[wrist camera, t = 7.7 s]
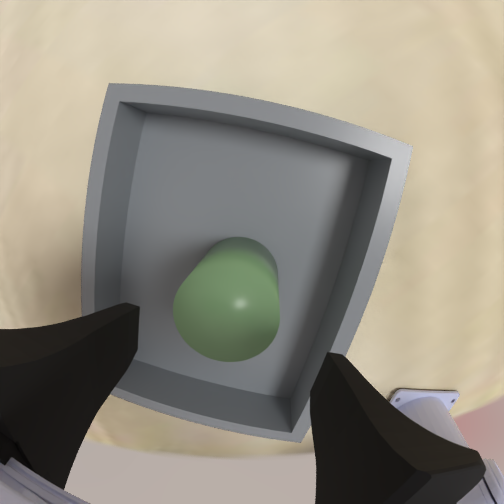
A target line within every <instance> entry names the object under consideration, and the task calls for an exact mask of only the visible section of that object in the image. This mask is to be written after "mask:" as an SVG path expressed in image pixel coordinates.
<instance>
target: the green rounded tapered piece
mask: <svg viewBox="0 0 504 504" xmlns="http://www.w3.org/2000/svg"><path fill="white" fill-rule="evenodd" d="M173 317H174V322H175V325H176V328H177V330H178V332H179V334H180V335H181V337H182V338H183V339H184V341H185V342H186V343H187V344H188V345H189V346H190V347H191V348H192V349H194V350H195V351H196V352H198V353H200V354H201V355H203V356H205V357H207V358H210V359H213V360H217V361H222V362H239V361H244V360H248V359H250V358H253V357H255V356H257V355H259V354H260V353H262V352H263V351H264V350H265V349H267V348H268V347H269V345H270V344H271V343H272V342H273V340H274V338H275V337H276V334H277V332H278V329H279V324H280V306H279V285H278V269H277V265H276V261H275V259H274V257H273V256H272V254H271V253H270V251H269V250H268V249H267V248H266V247H265V246H264V245H262V244H261V243H259V242H257V241H255V240H253V239H250V238H246V237H231V238H227V239H224V240H222V241H220V242H218V243H217V244H215V245H214V246H213V247H212V248H211V249H210V250H209V251H208V252H207V254H206V255H205V256H204V257H203V259H202V260H201V261H200V262H199V263H198V265H197V266H196V267H195V268H194V270H193V271H192V272H191V273H190V275H189V276H188V277H187V278H186V279H185V281H184V282H183V283H182V284H181V286H180V287H179V289H178V291H177V293H176V295H175V299H174V303H173Z"/></svg>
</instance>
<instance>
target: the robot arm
mask: <svg viewBox="0 0 504 504" xmlns="http://www.w3.org/2000/svg"><path fill="white" fill-rule="evenodd" d="M139 315H140V306H136V305H133V304H130V303H127V302H125V303H121V304H118V305H115V306H112V307H109V308H106V309H103V310H100V311H98V312H95V313H92V314H89V315H86V316H83V317H79V318H76V319H72V320H69V321H66V322H62V323H58V324H53V325H47V326H42V327H34V328H23V329H0V504H90V503H88V502H85V501H84V500H81V499H80V498H78V497H76V496H74V495H72V494H70V493H68V492H66V491H64V488H65V485H66V482H67V479H68V476H69V473H70V470H71V467H72V465H73V462H74V460H75V457H76V455H77V453H78V450H79V448H80V446H81V444H82V441H83V439H84V437H85V435H86V433H87V431H88V429H89V427H90V425H91V423H92V421H93V419H94V417H95V415H96V414H97V412H98V410H99V409H100V407H101V406H102V404H103V403H104V402H105V400H106V399H107V397H108V396H109V395H110V393H111V392H112V390H113V389H114V388H115V386H116V385H117V384H118V382H119V381H120V379H121V378H122V377H123V375H124V374H125V372H126V371H127V369H128V368H129V366H130V364H131V362H132V360H133V358H134V356H135V354H136V352H137V350H138V333H139ZM459 395H460V394H459V392H458V391H429V390H409V389H399V390H397V391H396V392H395V393H394V395H393V396H392V398H391V400H390V401H389V402H388V401H387V400H386V399H385V398H384V397H383V396H382V395H381V394H380V393H379V392H378V391H377V390H376V389H375V388H374V387H373V386H372V385H371V384H370V383H369V382H368V381H367V380H366V379H365V378H364V377H363V376H362V374H361V373H360V372H359V371H358V370H357V369H356V368H355V367H354V366H353V365H352V364H351V362H350V361H349V360H348V359H347V358H346V357H345V356H344V355H342V354H338V353H332V352H327V354H326V356H325V358H324V361H323V363H322V366H321V368H320V370H319V372H318V375H317V377H316V379H315V382H314V384H313V386H312V388H311V390H310V419H311V427H312V434H313V442H314V449H315V457H316V499H315V500H316V501H315V504H504V476H503V474H502V473H501V471H500V469H499V467H498V466H497V464H496V463H495V461H494V460H493V459H488V460H487V459H483V460H482V458H481V456H480V454H479V453H478V452H477V451H476V450H473V449H470V448H469V447H468V445H467V443H466V441H465V439H464V437H463V436H462V434H461V432H460V430H459V429H458V427H457V425H456V423H455V422H454V420H453V418H452V416H451V415H450V413H449V410H450V409H451V408H452V406H453V405H454V403H455V402H456V400H457V399H458V397H459ZM397 398H398V399H397Z"/></svg>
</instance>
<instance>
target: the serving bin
mask: <svg viewBox="0 0 504 504" xmlns="http://www.w3.org/2000/svg"><path fill="white" fill-rule="evenodd" d="M412 149H413V146H411V145H409V144H406V143H404V142H401V141H399V140H396V139H394V138H391V137H388V136H386V135H383V134H380V133H377V132H375V131H372V130H369V129H366V128H363V127H360V126H357V125H354V124H351V123H348V122H345V121H341V120H338V119H335V118H332V117H328V116H325V115H321V114H318V113H314V112H310V111H306V110H303V109H299V108H295V107H291V106H286V105H282V104H278V103H273V102H269V101H264V100H259V99H254V98H249V97H243V96H238V95H232V94H226V93H219V92H213V91H206V90H198V89H190V88H180V87H170V86H158V85H143V84H116V83H109V85H108V88H107V92H106V96H105V100H104V104H103V108H102V112H101V116H100V120H99V125H98V129H97V134H96V139H95V144H94V150H93V155H92V161H91V167H90V174H89V181H88V188H87V197H86V206H85V216H84V228H83V243H82V268H81V302H82V317H83V316H86V315H89V314H92V313H95V312H98V311H100V310H103V309H106V308H109V307H112V306H115V305H118V304H121V303H125V302H127V303H130V304H133V305H136V306H140V315H139V333H138V350H137V352H136V354H135V356H134V358H133V360H132V362H131V364H130V366H129V368H128V369H127V371H126V372H125V374H124V375H123V377H122V378H121V379H120V381H119V382H118V384H117V385H116V386H115V388H114V389H113V390H112V392H111V393H110V394H111V395H114V396H116V397H119V398H121V399H124V400H126V401H129V402H132V403H135V404H137V405H140V406H143V407H146V408H149V409H152V410H155V411H158V412H161V413H164V414H167V415H170V416H174V417H177V418H180V419H184V420H187V421H191V422H195V423H198V424H202V425H206V426H210V427H214V428H218V429H223V430H227V431H232V432H237V433H242V434H247V435H252V436H258V437H263V438H270V439H276V440H283V441H291V442H299V443H301V442H302V440H303V438H304V436H305V435H306V433H307V431H308V429H309V428H310V426H311V419H310V390H311V388H312V386H313V384H314V382H315V379H316V377H317V375H318V372H319V370H320V368H321V366H322V363H323V361H324V358H325V356H326V354H327V352H332V353H338V354H342V355H344V356H346V354H347V351H348V349H349V347H350V345H351V342H352V340H353V338H354V335H355V333H356V331H357V328H358V326H359V323H360V321H361V318H362V316H363V313H364V311H365V308H366V306H367V303H368V300H369V298H370V295H371V292H372V290H373V287H374V284H375V281H376V279H377V276H378V273H379V270H380V267H381V264H382V261H383V258H384V255H385V252H386V249H387V246H388V243H389V239H390V236H391V233H392V229H393V226H394V223H395V219H396V216H397V212H398V208H399V205H400V201H401V197H402V193H403V189H404V185H405V181H406V177H407V172H408V168H409V164H410V159H411V154H412ZM231 237H246V238H250V239H253V240H255V241H257V242H259V243H261V244H262V245H264V246H265V247H266V248H267V249H268V250H269V251H270V253H271V254H272V256H273V257H274V259H275V261H276V265H277V269H278V285H279V306H280V324H279V329H278V332H277V334H276V337H275V338H274V340H273V342H272V343H271V344H270V345H269V347H268V348H267V349H265V350H264V351H263V352H262V353H260V354H259V355H257V356H255V357H253V358H250V359H248V360H244V361H239V362H222V361H217V360H213V359H210V358H207V357H205V356H203V355H201V354H200V353H198V352H196V351H195V350H194V349H192V348H191V347H190V346H189V345H188V344H187V343H186V342H185V341H184V339H183V338H182V337H181V335H180V334H179V332H178V330H177V328H176V325H175V322H174V317H173V303H174V299H175V295H176V293H177V291H178V289H179V287H180V286H181V284H182V283H183V282H184V281H185V279H186V278H187V277H188V276H189V275H190V273H191V272H192V271H193V270H194V268H195V267H196V266H197V265H198V263H199V262H200V261H201V260H202V259H203V257H204V256H205V255H206V254H207V252H208V251H209V250H210V249H211V248H212V247H213V246H214V245H215V244H217V243H218V242H220V241H222V240H224V239H227V238H231Z"/></svg>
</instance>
